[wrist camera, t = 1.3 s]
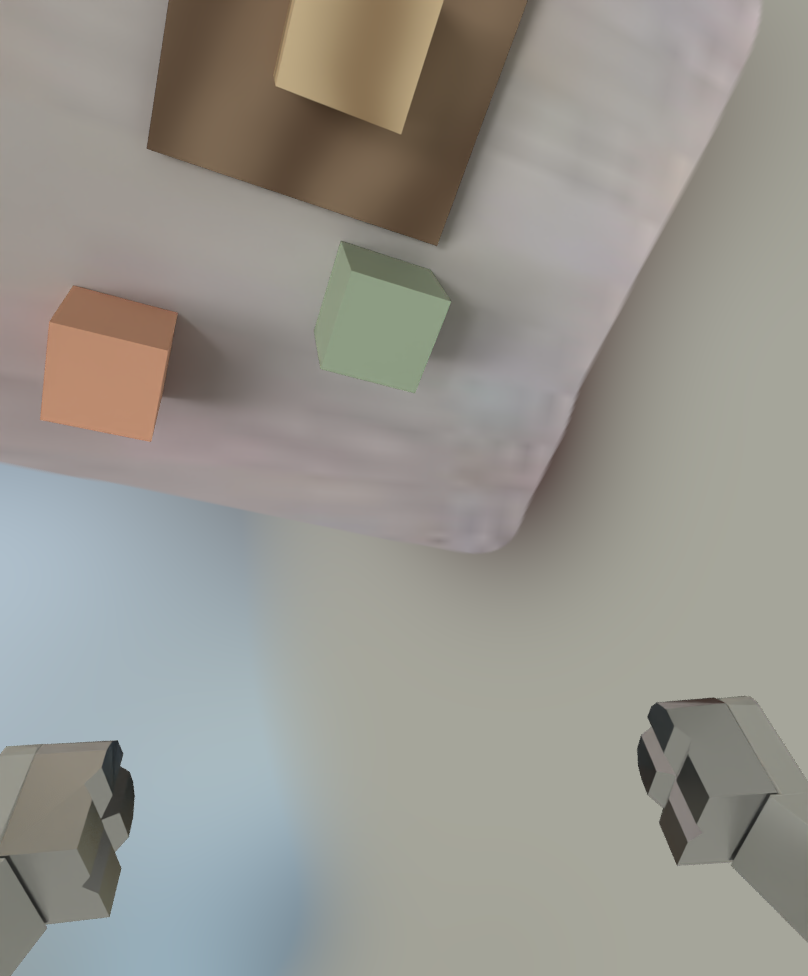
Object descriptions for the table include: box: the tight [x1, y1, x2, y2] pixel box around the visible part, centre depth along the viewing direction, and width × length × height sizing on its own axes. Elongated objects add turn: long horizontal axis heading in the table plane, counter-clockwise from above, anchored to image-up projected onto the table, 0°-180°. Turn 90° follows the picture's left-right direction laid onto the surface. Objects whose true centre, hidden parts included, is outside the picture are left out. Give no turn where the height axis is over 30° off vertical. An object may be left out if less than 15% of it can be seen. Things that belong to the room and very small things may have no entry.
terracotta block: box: [40, 285, 178, 442], centre depth 34 cm, size 5×5×5 cm
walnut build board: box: [147, 0, 528, 246], centre depth 28 cm, size 14×14×6 cm
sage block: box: [314, 241, 451, 393], centre depth 35 cm, size 5×5×5 cm
